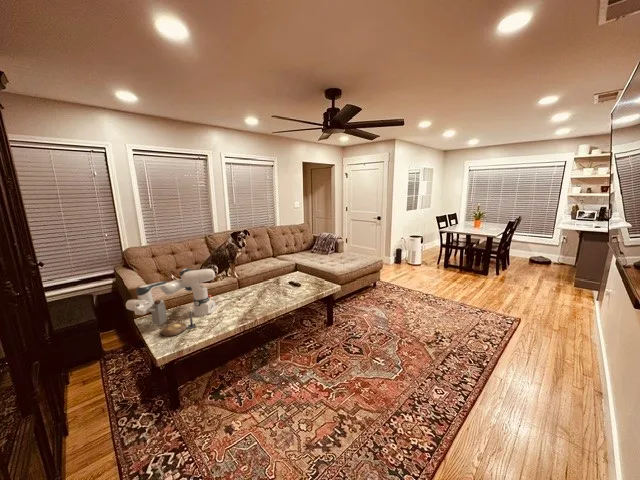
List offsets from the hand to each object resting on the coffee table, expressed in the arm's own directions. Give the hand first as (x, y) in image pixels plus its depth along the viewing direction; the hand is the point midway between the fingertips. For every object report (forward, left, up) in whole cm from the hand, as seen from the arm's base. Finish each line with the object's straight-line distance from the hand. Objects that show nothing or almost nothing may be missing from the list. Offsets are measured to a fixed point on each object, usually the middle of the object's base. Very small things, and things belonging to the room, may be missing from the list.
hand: (159, 307), depth 202 cm
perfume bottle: (0, -1, -12) cm, 13 cm away
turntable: (+4, +15, -16) cm, 22 cm away
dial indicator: (-4, +24, -16) cm, 29 cm away
